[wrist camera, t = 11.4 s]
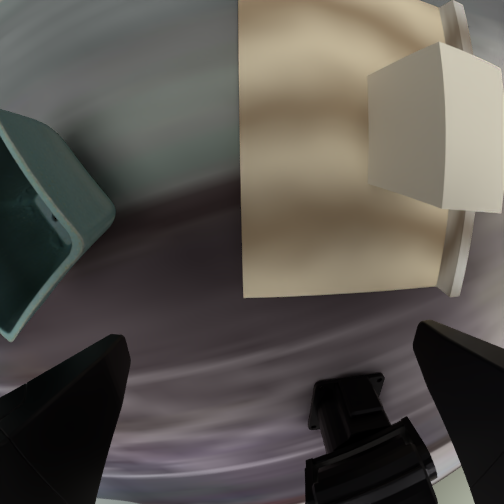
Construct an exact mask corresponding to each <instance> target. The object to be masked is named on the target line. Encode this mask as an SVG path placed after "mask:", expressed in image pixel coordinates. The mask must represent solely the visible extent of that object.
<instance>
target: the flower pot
mask: <svg viewBox="0 0 504 504" xmlns="http://www.w3.org/2000/svg"><path fill="white" fill-rule="evenodd" d="M115 215H116V210H115V207H114V204H113V203H112V202H111V200H110V199H109V198H108V196H107V195H106V194H105V193H104V192H103V190H102V189H101V188H100V187H99V186H98V184H97V183H96V182H95V181H94V179H93V178H92V177H91V176H90V174H89V173H88V172H87V171H86V169H85V168H84V167H83V165H82V164H81V163H80V161H79V160H78V159H77V157H76V156H75V155H74V153H73V152H72V151H71V149H70V148H69V147H68V145H67V144H66V143H65V142H64V140H63V139H62V138H61V137H60V136H59V135H58V134H57V133H56V132H55V131H54V130H53V129H51V128H50V127H49V126H47V125H46V124H44V123H42V122H39V121H37V120H34V119H31V118H29V117H26V116H22V115H19V114H15V113H12V112H9V111H5V110H2V109H0V333H1V334H2V335H3V336H4V337H5V338H6V339H7V340H8V341H10V342H12V341H14V339H15V338H16V337H17V335H18V334H19V333H20V332H21V330H22V329H23V328H24V326H25V325H26V324H27V322H28V321H29V320H30V319H31V317H32V316H33V315H34V314H35V312H36V311H37V310H38V309H39V308H40V306H41V305H42V304H43V303H44V301H45V300H46V299H47V298H48V296H49V295H50V294H51V292H52V291H53V290H54V289H55V287H56V286H57V285H58V283H59V282H60V281H61V280H62V278H63V277H64V276H65V275H66V274H67V272H68V271H69V270H70V269H71V268H72V267H73V265H74V264H75V263H76V262H77V261H78V260H79V259H80V257H81V256H82V255H83V254H84V253H85V252H86V251H87V250H88V249H89V248H90V247H91V246H92V245H93V243H94V242H95V241H96V240H97V239H98V238H99V237H100V236H101V235H102V234H103V233H105V231H106V230H107V229H108V228H109V227H110V226H111V224H112V223H113V221H114V218H115ZM54 216H55V217H56V219H57V220H55V218H54Z"/></svg>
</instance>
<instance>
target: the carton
mask: <svg viewBox="0 0 504 504" xmlns="http://www.w3.org/2000/svg"><path fill="white" fill-rule="evenodd" d="M367 84H368V116H369V150H368V182H367V184H370V185H373V186H377V187H380V188H383V189H386V190H389V191H392V192H395V193H398V194H401V195H404V196H407V197H410V198H413V199H416V200H419V201H421V202H424V203H427V204H430V205H433V206H435V207H438V208H441V209H451V210H466V211H479V212H491V213H501V210H502V201H503V191H504V91H503V82H502V74H501V68H499V67H497V66H495V65H493V64H491V63H489V62H487V61H485V60H483V59H481V58H478V57H476V56H474V55H472V54H469V53H467V52H465V51H462V50H460V49H457V48H455V47H452V46H450V45H447V44H444V43H442V42H437V43H434V44H432V45H430V46H428V47H425V48H423V49H421V50H419V51H417V52H414V53H412V54H410V55H408V56H406V57H404V58H402V59H400V60H398V61H396V62H394V63H392V64H389V65H387V66H385V67H384V68H382V69H380V70H378V71H376V72H374V73H372V74H370V75H368V76H367Z"/></svg>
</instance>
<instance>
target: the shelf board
mask: <svg viewBox="0 0 504 504" xmlns="http://www.w3.org/2000/svg"><path fill="white" fill-rule="evenodd" d="M238 36H239V122H240V177H241V223H242V262H243V298H260V297H288V296H310V295H329V294H345V293H361V292H375V291H388V290H400V289H411V288H422V287H433V286H437V287H438V288H439V289H440V290H442V291H443V292H444V293H445V294H446V295H448V296H449V297H456V296H459V295H460V291H461V287H462V283H463V278H464V274H465V269H466V264H467V259H468V254H469V249H470V243H471V237H472V231H473V224H474V216H475V211H466V210H451V209H441V208H438V207H435V206H433V205H430V204H427V203H424V202H421V201H419V200H416V199H413V198H410V197H407V196H404V195H401V194H398V193H395V192H392V191H389V190H386V189H383V188H380V187H377V186H373V185H370V184H367V182H368V150H369V116H368V84H367V76H368V75H370V74H372V73H374V72H376V71H378V70H380V69H382V68H384V67H385V66H387V65H389V64H392V63H394V62H396V61H398V60H400V59H402V58H404V57H406V56H408V55H410V54H412V53H414V52H417V51H419V50H421V49H423V48H425V47H428V46H430V45H432V44H434V43H437V42H442V43H444V44H447V45H450V46H452V47H455V48H457V49H460V50H462V51H465V52H467V53H469V54H472V55H473V51H472V45H471V39H470V34H469V29H468V25H467V20H466V16H465V12H464V8H463V5H462V4H460V3H458V2H456V1H454V0H452V1H450V2H448V3H446V4H445V5H443V6H441V7H439V8H438V7H435V6H433V5H430V4H427V3H425V2H422V1H419V0H238Z"/></svg>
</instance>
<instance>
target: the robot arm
mask: <svg viewBox="0 0 504 504" xmlns="http://www.w3.org/2000/svg"><path fill="white" fill-rule="evenodd" d="M413 350H414V353H415V356H416V358H417V361H418V364H419V366H420V369H421V372H422V374H423V377H424V380H425V382H426V385H427V387H428V390H429V392H430V394H431V396H432V398H433V400H434V402H435V405H436V407H437V409H438V411H439V413H440V415H441V418H442V420H443V422H444V424H445V427H446V429H447V431H448V434H449V436H450V438H451V441H452V443H453V446H454V448H455V450H456V453H457V455H458V458H459V460H460V463H461V466H462V468H463V471H464V473H465V476H466V479H467V482H468V484H469V487H470V490H471V493H472V496H473V499H474V502H475V504H504V349H503V348H501V347H498V346H496V345H493V344H491V343H488V342H486V341H483V340H481V339H478V338H476V337H473V336H471V335H468V334H466V333H463V332H460V331H458V330H455V329H453V328H450V327H448V326H445V325H443V324H440V323H438V322H435V321H433V320H426V321H421V322H420V323H419V324H418V327H417V330H416V334H415V338H414V341H413ZM130 364H131V359H130V354H129V351H128V347H127V343H126V340H125V337H124V336H123V335H117V334H110V335H108V336H107V337H105V338H103V339H101V340H100V341H98V342H96V343H94V344H93V345H91V346H89V347H88V348H86V349H84V350H82V351H81V352H79V353H77V354H76V355H74V356H72V357H70V358H69V359H67V360H65V361H63V362H62V363H60V364H58V365H57V366H55V367H53V368H51V369H50V370H48V371H46V372H44V373H43V374H41V375H39V376H38V377H36V378H34V379H32V380H31V381H29V382H27V384H24V385H22V386H20V387H19V388H17V389H15V390H13V391H11V392H10V393H8V394H6V395H4V396H2V397H0V504H95V502H96V497H97V493H98V489H99V485H100V481H101V477H102V473H103V470H104V466H105V462H106V459H107V455H108V451H109V448H110V444H111V441H112V437H113V434H114V431H115V427H116V424H117V421H118V418H119V414H120V411H121V408H122V404H123V399H124V394H125V389H126V384H127V379H128V374H129V369H130ZM384 379H385V377H384V376H383V374H382V373H378V374H372V375H365V376H359V377H352V378H344V379H336V380H327V381H320V382H317V383H316V384H315V386H314V392H313V398H312V404H311V410H310V416H309V422H308V427H309V429H310V430H317V429H320V430H321V434H322V438H323V442H324V445H325V449H326V453H327V454H325V455H322V456H320V457H317V458H314V459H313V458H311V459H308V460H306V468H305V499H306V502H305V504H438V502H437V498H436V495H435V492H434V490H433V487H432V484H431V481H432V480H434V479H436V478H437V472H436V469H435V466H434V463H433V460H432V458H431V456H430V453H429V451H428V449H427V447H426V446H425V444H424V442H423V441H422V439H421V437H420V436H419V434H418V433H417V431H416V430H415V428H414V426H413V425H412V423H411V422H410V420H409V419H408V417H407V416H406V417H404V418H402V419H401V421H399V422H397V423H395V424H393V425H391V424H390V422H389V419H388V417H387V415H386V413H385V411H384V409H383V406H382V403H381V401H380V399H379V395H380V392H381V389H382V386H383V382H384ZM321 386H322V387H321Z"/></svg>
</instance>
